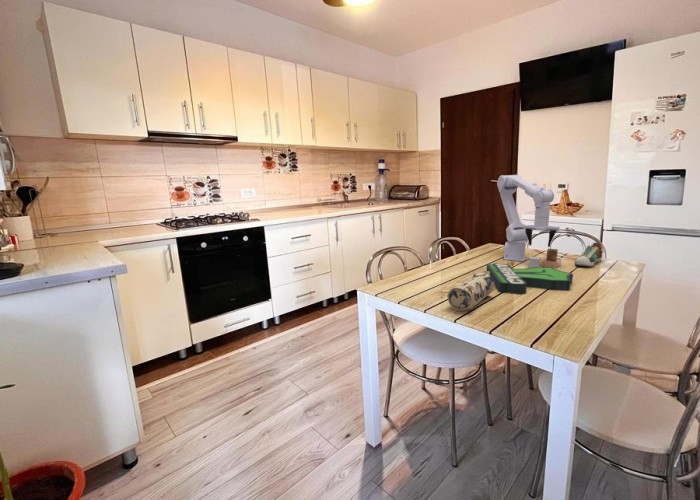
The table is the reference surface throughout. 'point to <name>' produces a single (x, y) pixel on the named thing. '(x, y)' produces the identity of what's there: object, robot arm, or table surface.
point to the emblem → (528, 278)
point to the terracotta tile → (551, 263)
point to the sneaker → (590, 255)
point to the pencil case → (471, 291)
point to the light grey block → (534, 262)
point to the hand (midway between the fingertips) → (539, 245)
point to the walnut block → (552, 255)
